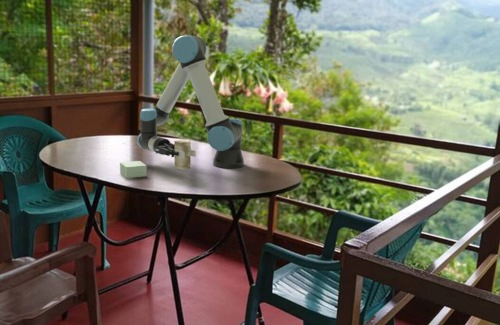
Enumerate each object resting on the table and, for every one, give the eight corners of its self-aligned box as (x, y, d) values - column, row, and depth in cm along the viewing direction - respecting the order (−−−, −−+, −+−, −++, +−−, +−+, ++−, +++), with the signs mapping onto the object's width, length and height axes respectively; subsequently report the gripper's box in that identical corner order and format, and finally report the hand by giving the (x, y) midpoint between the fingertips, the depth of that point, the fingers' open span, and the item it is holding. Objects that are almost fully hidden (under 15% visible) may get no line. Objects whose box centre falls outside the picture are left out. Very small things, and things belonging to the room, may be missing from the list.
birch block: (183, 166, 229) (183, 139, 226) (190, 168, 226) (190, 141, 223) (174, 167, 226) (174, 140, 223) (181, 169, 222) (181, 142, 219)
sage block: (139, 171, 232) (139, 160, 231) (146, 176, 225) (146, 165, 224) (120, 173, 228) (120, 162, 227) (126, 178, 220) (126, 167, 219)
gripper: (176, 151, 244) (206, 160, 227) (143, 155, 232) (172, 165, 215) (176, 135, 242) (206, 143, 225) (142, 139, 230) (171, 148, 213)
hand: (189, 154), depth 220 cm, fingers closed on birch block, 5 cm apart
